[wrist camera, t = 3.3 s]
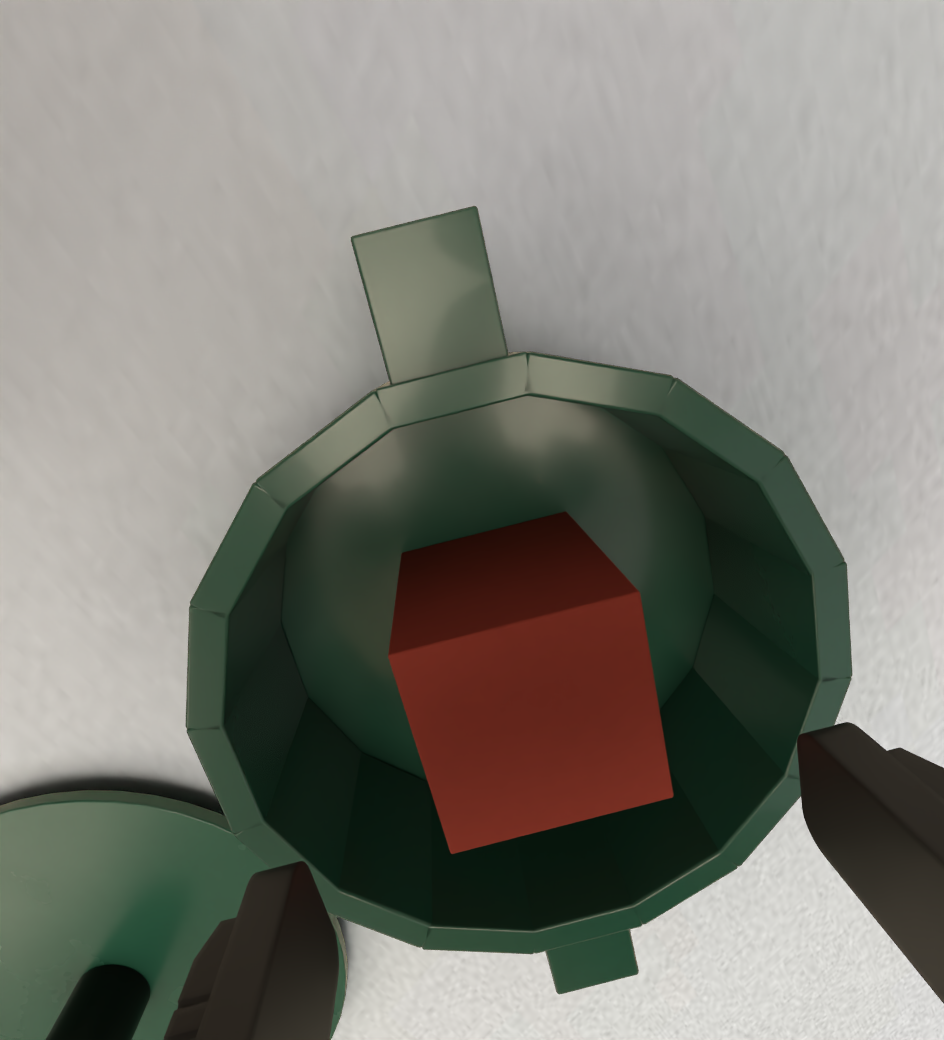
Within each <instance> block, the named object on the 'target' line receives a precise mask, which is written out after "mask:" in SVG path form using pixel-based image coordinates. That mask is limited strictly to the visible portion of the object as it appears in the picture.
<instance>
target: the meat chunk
mask: <svg viewBox="0 0 944 1040" xmlns="http://www.w3.org/2000/svg"><path fill="white" fill-rule="evenodd" d="M388 658H389V661H390V665H391V668H392V671H393V674H394V677H395V680H396V683H397V687H398V690H399V693H400V696H401V699H402V702H403V705H404V709H405V712H406V715H407V718H408V721H409V724H410V727H411V731H412V734H413V737H414V740H415V743H416V746H417V749H418V753H419V756H420V759H421V762H422V765H423V768H424V771H425V775H426V778H427V781H428V784H429V787H430V790H431V793H432V797H433V800H434V803H435V806H436V809H437V812H438V815H439V819H440V822H441V825H442V828H443V831H444V834H445V837H446V841H447V844H448V847H449V850H450V852H451V854H454V853H458V852H462V851H466V850H470V849H473V848H477V847H481V846H485V845H489V844H493V843H497V842H501V841H505V840H509V839H512V838H516V837H520V836H524V835H528V834H532V833H536V832H540V831H544V830H548V829H552V828H555V827H559V826H563V825H567V824H571V823H575V822H579V821H583V820H587V819H591V818H594V817H598V816H602V815H606V814H610V813H614V812H618V811H622V810H626V809H630V808H633V807H637V806H641V805H645V804H649V803H653V802H657V801H661V800H665V799H669V798H672V797H673V789H672V783H671V777H670V771H669V765H668V759H667V753H666V747H665V740H664V734H663V728H662V722H661V716H660V710H659V704H658V698H657V692H656V686H655V680H654V674H653V668H652V662H651V656H650V650H649V644H648V638H647V632H646V626H645V620H644V614H643V608H642V602H641V596H640V592H639V591H638V590H637V589H636V588H635V586H634V585H633V584H632V583H631V582H630V581H629V580H628V579H627V578H626V577H625V575H624V574H623V573H622V572H621V571H620V570H619V569H618V568H617V567H616V566H615V564H614V563H613V562H612V561H611V560H610V559H609V558H608V557H607V556H606V555H605V553H604V552H603V551H602V550H601V549H600V548H599V547H598V546H597V545H596V543H595V542H594V541H593V540H592V539H591V538H590V537H589V536H588V535H587V534H586V532H585V531H584V530H583V529H582V528H581V527H580V526H579V525H578V524H577V523H576V521H575V520H574V519H573V518H572V517H571V516H570V515H569V514H568V513H567V512H562V513H558V514H554V515H550V516H546V517H542V518H538V519H534V520H530V521H526V522H522V523H518V524H514V525H510V526H506V527H502V528H498V529H494V530H490V531H486V532H482V533H478V534H475V535H471V536H467V537H463V538H459V539H455V540H451V541H447V542H443V543H439V544H435V545H431V546H427V547H423V548H419V549H415V550H411V551H407V552H403V553H401V561H400V568H399V576H398V584H397V591H396V599H395V607H394V615H393V622H392V630H391V638H390V645H389V653H388Z"/></svg>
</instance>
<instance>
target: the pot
mask: <svg viewBox="0 0 944 1040" xmlns="http://www.w3.org/2000/svg"><path fill="white" fill-rule="evenodd" d="M351 243H352V246H353V250H354V254H355V257H356V261H357V265H358V268H359V272H360V276H361V279H362V283H363V286H364V290H365V294H366V297H367V301H368V305H369V308H370V312H371V316H372V319H373V323H374V327H375V330H376V334H377V338H378V341H379V345H380V349H381V352H382V356H383V360H384V363H385V367H386V371H387V374H388V378H389V381H388V382H386V383H384V384H383V385H381V386H379V387H378V388H376V389H374V390H373V391H371V392H370V393H368V394H367V395H366V396H365V397H363V398H362V399H361V400H359V401H358V402H357V403H355V404H354V405H353V406H352V407H350V408H349V409H348V410H346V411H345V412H344V413H342V414H341V415H340V416H338V417H337V418H336V419H335V420H333V421H332V422H331V423H329V424H328V425H327V426H325V427H324V428H323V429H322V430H320V431H319V432H318V433H316V434H315V435H314V436H312V437H311V438H310V439H308V440H307V441H306V442H305V443H303V444H302V445H301V446H299V447H298V448H297V449H295V450H294V451H293V452H292V453H290V454H289V455H288V456H286V457H285V458H284V459H282V460H281V461H280V462H278V463H277V464H276V465H275V466H273V467H272V468H271V469H269V470H268V471H267V472H265V473H264V474H263V475H262V476H260V477H259V478H258V479H257V480H256V482H255V483H253V484H252V486H251V488H250V490H249V492H248V494H247V495H246V497H245V499H244V501H243V503H242V505H241V507H240V509H239V511H238V512H237V514H236V516H235V518H234V520H233V522H232V524H231V526H230V528H229V529H228V531H227V533H226V535H225V537H224V539H223V541H222V543H221V545H220V546H219V548H218V550H217V552H216V554H215V556H214V558H213V560H212V562H211V563H210V565H209V567H208V569H207V571H206V573H205V575H204V577H203V579H202V580H201V582H200V584H199V586H198V588H197V590H196V592H195V594H194V596H193V597H192V599H191V601H190V604H191V605H190V607H189V634H188V667H187V700H186V728H187V733H188V736H189V738H190V740H191V742H192V744H193V747H194V749H195V751H196V753H197V755H198V758H199V760H200V762H201V764H202V766H203V769H204V771H205V773H206V775H207V777H208V780H209V782H210V784H211V786H212V788H213V791H214V793H215V795H216V797H217V799H218V802H219V804H220V806H221V808H222V810H223V813H224V815H225V817H226V819H227V821H228V824H229V826H230V828H231V830H232V832H233V833H235V834H234V835H235V837H236V838H237V839H238V840H240V841H241V842H242V843H243V844H244V845H245V846H246V847H247V848H249V849H250V850H251V851H252V852H253V853H254V854H255V855H256V856H258V857H259V858H260V859H261V860H262V861H263V862H264V863H265V864H267V865H268V866H269V867H270V868H271V869H272V868H276V867H280V866H284V865H288V864H291V863H295V862H299V861H304V862H305V863H306V864H307V865H308V867H309V869H310V871H311V873H312V876H313V878H314V881H315V883H316V886H317V888H318V891H319V893H320V896H321V898H322V900H323V903H324V905H325V908H326V910H327V913H329V914H332V915H335V916H337V917H340V918H342V919H345V920H348V921H350V922H353V923H356V924H358V925H361V926H363V927H366V928H369V929H371V930H374V931H377V932H379V933H382V934H385V935H387V936H390V937H392V938H395V939H398V940H400V941H403V942H406V943H408V944H411V945H413V946H416V947H419V948H420V947H422V948H423V949H424V950H447V951H470V952H493V953H516V954H533V953H540V952H544V951H545V952H546V955H547V959H548V962H549V966H550V970H551V973H552V977H553V981H554V984H555V988H556V992H557V993H558V994H563V993H567V992H571V991H575V990H579V989H583V988H587V987H590V986H594V985H598V984H602V983H606V982H610V981H614V980H617V979H621V978H625V977H629V976H633V975H637V974H638V971H639V970H638V965H637V961H636V956H635V951H634V947H633V942H632V937H631V932H630V929H633V928H637V927H641V926H642V924H647V923H648V922H650V921H651V920H653V919H655V918H656V917H658V916H660V915H661V914H663V913H665V912H666V911H668V910H670V909H671V908H673V907H675V906H676V905H678V904H679V903H681V902H683V901H684V900H686V899H688V898H689V897H691V896H693V895H694V894H696V893H698V892H699V891H701V890H702V889H704V888H706V887H707V886H709V885H711V884H712V883H714V882H716V881H717V880H719V879H721V878H722V877H724V876H726V875H727V874H729V873H730V872H732V871H734V870H735V869H737V866H741V865H742V864H743V863H744V861H745V860H746V859H747V858H748V857H749V856H750V854H751V853H752V852H753V851H754V850H755V849H756V847H757V846H758V845H759V844H760V843H761V842H762V841H763V839H764V838H765V837H766V836H767V835H768V834H769V832H770V831H771V830H772V829H773V828H774V827H775V825H776V824H777V823H778V822H779V821H780V820H781V818H782V817H783V816H784V815H785V814H786V813H787V812H788V810H789V809H790V808H791V807H792V806H793V805H794V803H795V802H796V801H797V800H798V799H799V798H800V796H801V787H800V776H799V764H798V752H797V739H798V736H799V735H800V734H803V733H806V732H810V731H814V730H818V729H822V728H826V727H830V726H834V724H835V721H836V719H837V716H838V713H839V711H840V708H841V705H842V703H843V700H844V697H845V695H846V692H847V689H848V687H849V684H850V681H851V676H852V660H851V640H850V620H849V600H848V580H847V564H846V562H845V561H844V558H843V556H842V554H841V552H840V550H839V549H838V547H837V545H836V543H835V541H834V540H833V538H832V536H831V534H830V532H829V530H828V529H827V527H826V525H825V523H824V521H823V520H822V518H821V516H820V514H819V512H818V511H817V509H816V507H815V505H814V503H813V501H812V500H811V498H810V496H809V494H808V492H807V491H806V489H805V487H804V485H803V483H802V482H801V480H800V478H799V476H798V474H797V472H796V471H795V469H794V467H793V465H792V463H791V462H790V460H789V458H788V456H786V455H785V454H784V452H783V451H782V450H781V449H779V448H778V447H776V446H775V445H774V444H772V443H771V442H769V441H768V440H766V439H765V438H763V437H762V436H761V435H759V434H758V433H756V432H755V431H753V430H752V429H750V428H749V427H747V426H746V425H745V424H743V423H742V422H740V421H739V420H737V419H736V418H734V417H733V416H732V415H730V414H729V413H727V412H726V411H724V410H723V409H721V408H720V407H719V406H717V405H716V404H714V403H713V402H711V401H710V400H708V399H707V398H706V397H704V396H703V395H701V394H700V393H698V392H697V391H695V390H694V389H693V388H691V387H690V386H688V385H687V384H685V383H684V382H682V381H681V380H680V379H678V378H673V376H671V375H667V374H661V373H655V372H649V371H643V370H637V369H631V368H626V367H620V366H614V365H608V364H602V363H596V362H590V361H584V360H578V359H572V358H566V357H561V356H555V355H549V354H543V353H537V352H531V351H530V352H509V353H508V350H507V345H506V340H505V336H504V331H503V326H502V322H501V317H500V312H499V307H498V303H497V298H496V293H495V288H494V284H493V279H492V274H491V269H490V265H489V260H488V255H487V251H486V246H485V241H484V236H483V232H482V227H481V222H480V217H479V213H478V208H477V207H476V206H472V207H468V208H464V209H460V210H456V211H452V212H448V213H444V214H440V215H436V216H432V217H428V218H423V219H419V220H415V221H411V222H407V223H403V224H399V225H395V226H391V227H387V228H383V229H379V230H375V231H371V232H367V233H363V234H359V235H355V236H352V237H351ZM562 512H567V513H568V514H569V515H570V516H571V517H572V518H573V519H574V520H575V521H576V523H577V524H578V525H579V526H580V527H581V528H582V529H583V530H584V531H585V532H586V534H587V535H588V536H589V537H590V538H591V539H592V540H593V541H594V542H595V543H596V545H597V546H598V547H599V548H600V549H601V550H602V551H603V552H604V553H605V555H606V556H607V557H608V558H609V559H610V560H611V561H612V562H613V563H614V564H615V566H616V567H617V568H618V569H619V570H620V571H621V572H622V573H623V574H624V575H625V577H626V578H627V579H628V580H629V581H630V582H631V583H632V584H633V585H634V586H635V588H636V589H637V590H638V591H639V592H640V596H641V602H642V608H643V614H644V620H645V626H646V632H647V638H648V644H649V650H650V656H651V662H652V668H653V674H654V680H655V686H656V692H657V698H658V704H659V710H660V716H661V722H662V728H663V734H664V740H665V747H666V753H667V759H668V765H669V771H670V777H671V783H672V789H673V797H672V798H669V799H665V800H661V801H657V802H653V803H649V804H645V805H641V806H637V807H633V808H630V809H626V810H622V811H618V812H614V813H610V814H606V815H602V816H598V817H594V818H591V819H587V820H583V821H579V822H575V823H571V824H567V825H563V826H559V827H555V828H552V829H548V830H544V831H540V832H536V833H532V834H528V835H524V836H520V837H516V838H512V839H509V840H505V841H501V842H497V843H493V844H489V845H485V846H481V847H477V848H473V849H470V850H466V851H462V852H458V853H454V854H451V852H450V850H449V847H448V844H447V841H446V837H445V834H444V831H443V828H442V825H441V822H440V819H439V815H438V812H437V809H436V806H435V803H434V800H433V797H432V793H431V790H430V787H429V784H428V781H427V778H426V775H425V771H424V768H423V765H422V762H421V759H420V756H419V753H418V749H417V746H416V743H415V740H414V737H413V734H412V731H411V727H410V724H409V721H408V718H407V715H406V712H405V709H404V705H403V702H402V699H401V696H400V693H399V690H398V687H397V683H396V680H395V677H394V674H393V671H392V668H391V665H390V661H389V658H388V653H389V645H390V638H391V630H392V622H393V615H394V607H395V599H396V591H397V584H398V576H399V568H400V561H401V553H403V552H407V551H411V550H415V549H419V548H423V547H427V546H431V545H435V544H439V543H443V542H447V541H451V540H455V539H459V538H463V537H467V536H471V535H475V534H478V533H482V532H486V531H490V530H494V529H498V528H502V527H506V526H510V525H514V524H518V523H522V522H526V521H530V520H534V519H538V518H542V517H546V516H550V515H554V514H558V513H562Z"/></svg>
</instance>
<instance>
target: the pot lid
mask: <svg viewBox="0 0 944 1040" xmlns="http://www.w3.org/2000/svg"><path fill="white" fill-rule="evenodd" d="M234 834H235V833H233V832H232V830H231V828H230V826H229V824H228V821H227V819H226V817H225V816H224V815H222V814H220V813H217V812H214V811H212V810H209V809H206V808H203V807H200V806H197V805H194V804H191V803H188V802H184V801H180V800H175V799H171V798H167V797H162V796H158V795H152V794H144V793H136V792H128V791H115V790H80V791H68V792H56V793H49V794H44V795H39V796H34V797H29V798H23V799H19V800H16V801H13V802H9V803H6V804H3V805H0V1040H164V1036H165V1033H166V1031H167V1028H168V1025H169V1023H170V1020H171V1018H172V1015H173V1012H174V1010H177V1009H178V999H179V997H180V994H181V992H182V989H183V986H184V984H185V981H186V979H187V976H188V973H189V971H190V968H191V966H192V963H193V960H194V959H195V957H196V956H197V954H198V953H199V952H200V950H201V949H202V947H203V946H204V944H205V943H206V942H207V940H208V939H209V937H210V936H211V934H212V933H213V932H214V930H215V929H216V927H217V926H218V924H219V923H220V922H221V921H224V920H228V919H231V918H235V917H237V914H238V911H239V908H240V905H241V902H242V899H243V896H244V893H245V890H246V887H247V885H248V882H249V880H250V878H251V877H252V876H253V874H255V873H257V872H260V871H264V870H268V869H271V868H270V867H269V866H268V865H267V864H265V863H264V862H263V861H262V860H261V859H260V858H259V857H258V856H256V855H255V854H254V853H253V852H252V851H251V850H250V849H249V848H247V847H246V846H245V845H244V844H243V843H242V842H241V841H240V840H238V839H237V838H236V837H235V835H234ZM328 915H329V918H330V920H331V923H332V925H333V928H334V930H335V934H336V938H337V944H338V953H339V975H338V984H337V991H336V998H335V1005H334V1013H333V1020H332V1027H331V1034H330V1040H331V1038H332V1036H333V1034H334V1031H335V1029H336V1027H337V1024H338V1022H339V1019H340V1017H341V1013H342V1008H343V1004H344V1000H345V995H346V987H347V969H348V962H347V954H346V947H345V941H344V938H343V935H342V931H341V928H340V925H339V922H338V919H337V917H336V916H335V915H332V914H329V913H328Z"/></svg>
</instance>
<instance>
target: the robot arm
mask: <svg viewBox="0 0 944 1040" xmlns="http://www.w3.org/2000/svg"><path fill="white" fill-rule="evenodd" d="M797 752H798V764H799V776H800V787H801V799H802V809H803V814H804V818H805V821H806V824H807V827H808V829H809V831H810V833H811V835H812V837H813V839H814V841H815V843H816V844H817V846H818V848H819V849H820V851H821V852H822V853H823V855H824V856H825V857H826V859H827V860H828V861H829V862H830V863H831V865H832V866H833V867H834V868H835V870H836V871H837V872H838V873H839V875H840V876H841V877H842V878H843V880H844V881H845V882H846V883H847V884H848V886H849V887H850V888H851V889H852V891H853V892H854V893H855V894H856V896H857V897H858V898H859V899H860V901H861V902H862V903H863V904H864V906H865V907H866V908H867V909H868V910H869V912H870V913H871V914H872V915H873V917H874V918H875V919H876V920H877V922H878V923H879V924H880V925H881V927H882V928H883V929H884V930H885V932H886V933H887V934H888V935H889V936H890V938H891V939H892V940H893V941H894V943H895V944H896V945H897V946H898V948H899V949H900V950H901V951H902V953H903V954H904V955H905V956H906V957H907V959H908V960H909V961H910V962H911V964H912V965H913V966H914V967H915V969H916V970H917V971H918V972H919V974H920V975H921V976H922V977H923V979H924V980H925V981H926V982H927V983H928V985H929V986H930V987H931V988H932V990H933V991H934V992H935V993H936V995H937V996H938V997H939V998H940V1000H941V1001H942V1002H943V1003H944V768H943V767H940V766H938V765H936V764H934V763H932V762H930V761H928V760H925V759H923V758H921V757H919V756H917V755H915V754H913V753H910V752H908V751H906V750H904V749H902V748H896V749H892V750H888V751H886V750H885V749H884V748H883V747H882V746H880V745H879V744H878V743H877V742H876V741H874V740H873V739H872V738H871V737H870V736H868V735H867V734H866V733H865V732H864V731H863V730H861V729H860V728H859V727H857V726H856V725H854V724H852V723H849V722H845V723H841V724H837V725H834V726H830V727H826V728H822V729H818V730H814V731H810V732H806V733H803V734H800V735H799V736H798V739H797ZM338 975H339V953H338V944H337V938H336V934H335V930H334V928H333V925H332V923H331V920H330V918H329V915H328V913H327V910H326V908H325V905H324V903H323V900H322V898H321V896H320V893H319V891H318V888H317V886H316V883H315V881H314V878H313V876H312V873H311V871H310V869H309V867H308V865H307V864H306V863H305V862H304V861H299V862H295V863H291V864H288V865H284V866H280V867H276V868H272V869H268V870H264V871H260V872H257V873H255V874H253V876H252V877H251V878H250V880H249V882H248V885H247V887H246V890H245V893H244V896H243V899H242V902H241V905H240V908H239V911H238V914H237V917H235V918H231V919H228V920H224V921H221V922H220V923H219V924H218V926H217V927H216V929H215V930H214V932H213V933H212V934H211V936H210V937H209V939H208V940H207V942H206V943H205V944H204V946H203V947H202V949H201V950H200V952H199V953H198V954H197V956H196V957H195V959H194V960H193V963H192V966H191V968H190V971H189V973H188V976H187V979H186V981H185V984H184V986H183V989H182V992H181V994H180V997H179V999H178V1009H177V1010H174V1012H173V1015H172V1018H171V1020H170V1023H169V1025H168V1028H167V1031H166V1033H165V1036H164V1040H330V1034H331V1027H332V1020H333V1013H334V1005H335V998H336V991H337V984H338Z"/></svg>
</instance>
